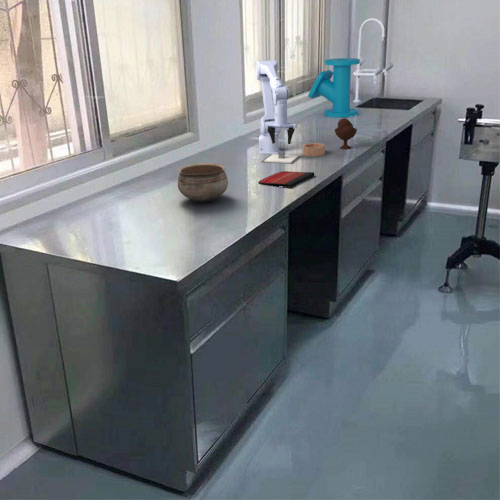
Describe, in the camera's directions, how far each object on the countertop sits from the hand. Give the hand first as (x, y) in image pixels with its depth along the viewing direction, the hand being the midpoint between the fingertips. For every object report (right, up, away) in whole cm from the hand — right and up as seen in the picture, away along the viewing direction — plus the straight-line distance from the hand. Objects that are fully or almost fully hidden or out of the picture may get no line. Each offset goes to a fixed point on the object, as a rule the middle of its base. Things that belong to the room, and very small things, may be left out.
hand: (281, 143), depth 273 cm
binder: (0, -21, -29) cm, 36 cm away
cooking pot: (-32, -31, -51) cm, 68 cm away
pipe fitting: (+42, +41, +118) cm, 131 cm away
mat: (0, -7, +3) cm, 8 cm away
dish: (+16, -3, +11) cm, 20 cm away
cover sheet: (0, -7, +3) cm, 7 cm away
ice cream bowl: (+33, +2, +22) cm, 40 cm away
